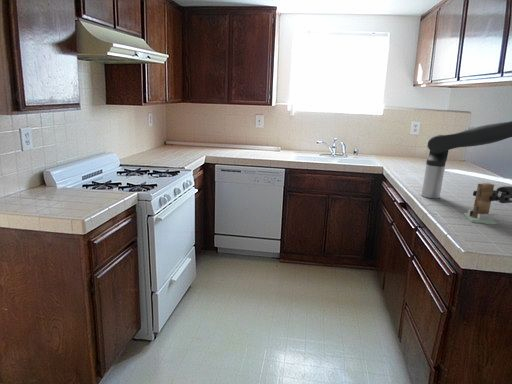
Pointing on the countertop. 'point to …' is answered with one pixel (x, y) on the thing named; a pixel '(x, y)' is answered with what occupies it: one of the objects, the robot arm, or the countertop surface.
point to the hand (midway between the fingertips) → (481, 195)
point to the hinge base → (488, 221)
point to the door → (482, 199)
